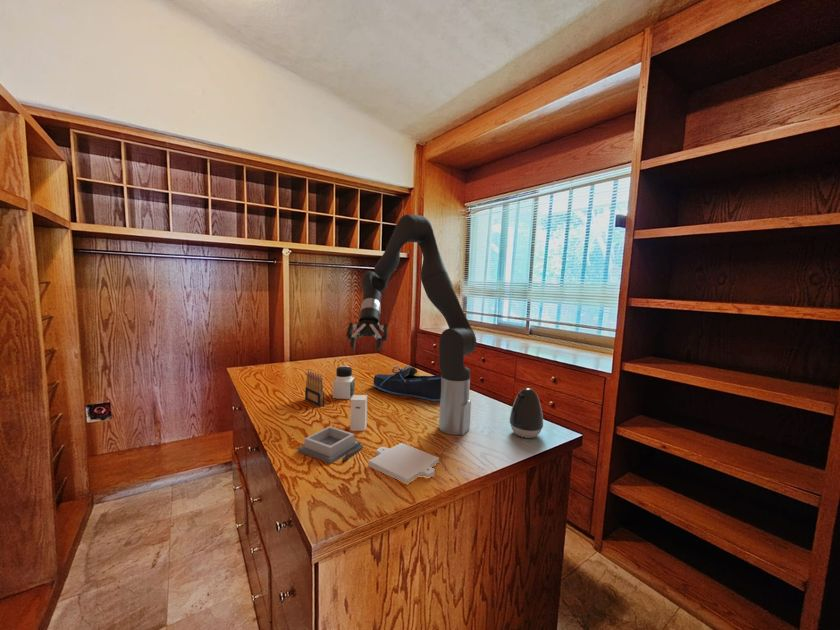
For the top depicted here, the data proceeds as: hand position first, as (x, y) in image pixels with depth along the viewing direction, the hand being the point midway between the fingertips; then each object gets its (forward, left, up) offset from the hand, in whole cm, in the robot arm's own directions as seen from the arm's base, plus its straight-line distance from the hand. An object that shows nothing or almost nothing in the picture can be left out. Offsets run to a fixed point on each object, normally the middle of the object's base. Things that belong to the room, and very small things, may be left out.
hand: (365, 348), depth 119 cm
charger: (-6, +10, -23) cm, 26 cm away
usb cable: (-15, +24, -23) cm, 37 cm away
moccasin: (-2, -28, -24) cm, 37 cm away
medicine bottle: (+18, -10, -24) cm, 31 cm away
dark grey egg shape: (-53, -15, -24) cm, 60 cm away
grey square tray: (-8, +25, -23) cm, 35 cm away
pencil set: (+22, +2, -24) cm, 32 cm away
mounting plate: (-30, +21, -24) cm, 44 cm away
